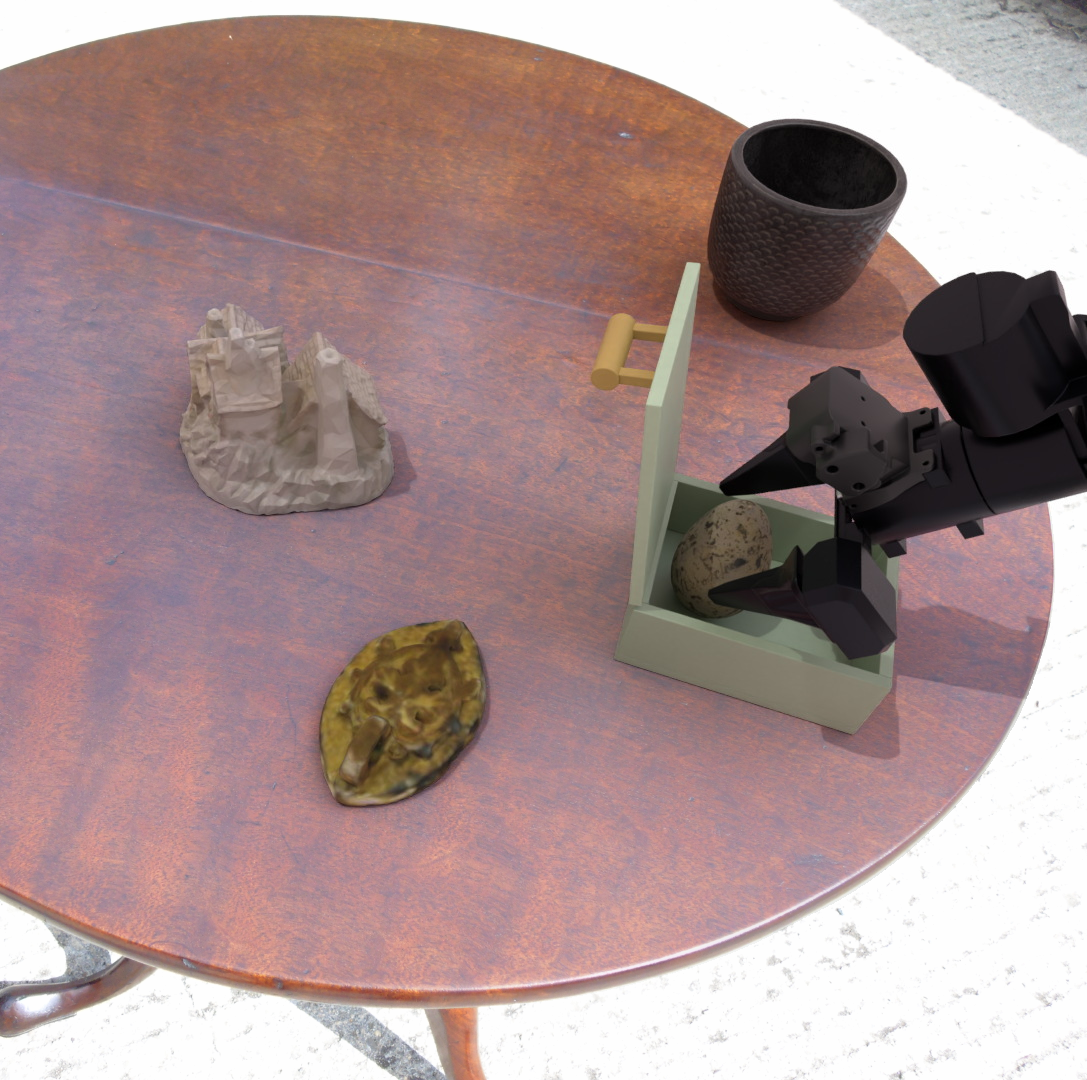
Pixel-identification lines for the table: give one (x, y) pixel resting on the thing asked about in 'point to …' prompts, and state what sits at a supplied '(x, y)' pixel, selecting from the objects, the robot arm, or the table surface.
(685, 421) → the table surface
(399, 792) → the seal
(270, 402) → the ceramic cottage
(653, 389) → the chest lid
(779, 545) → the chest
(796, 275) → the planter
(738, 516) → the decorative egg
